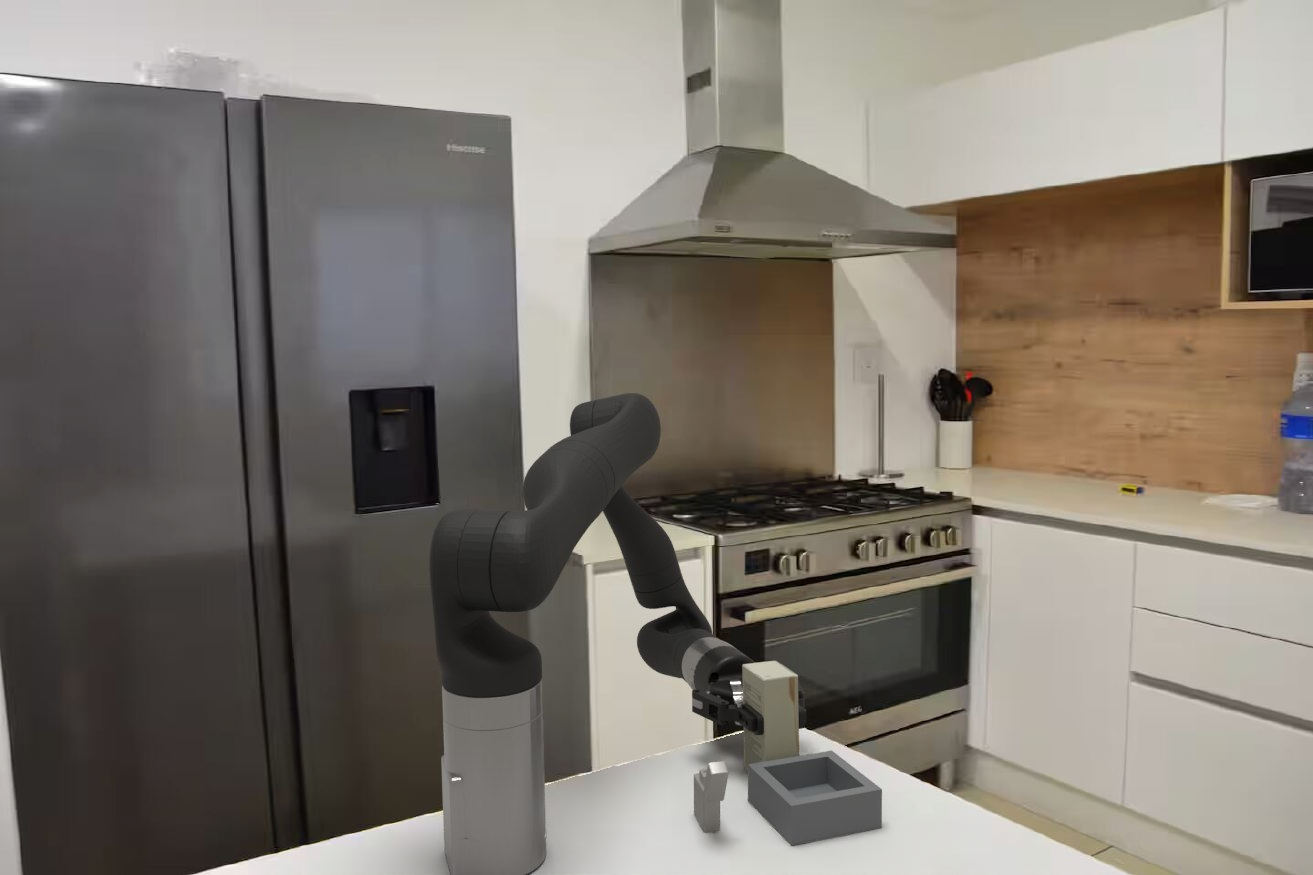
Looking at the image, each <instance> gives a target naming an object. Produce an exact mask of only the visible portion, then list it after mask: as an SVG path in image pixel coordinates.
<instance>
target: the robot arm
mask: <svg viewBox="0 0 1313 875" xmlns="http://www.w3.org/2000/svg"><path fill="white" fill-rule="evenodd" d="M661 424H662V423H661V419H660V416H659V413H658V410H657V408H656V407H655V405H654V403H653V402H652V401H651V400H650V399H649V398H648V397H646V396H645V395H643V394H640V393H634V392H628V393H621V394H617V395H613V396H608V397H604V398H599V399H598V398H597V399H593V400H590V401H586V402H581V403H579V404H576V406H575V407H574V408H573V409H572V412H571V415H570V419H569V432H570V435H569V436H567V437H564V438H563V439H561V440H560V441H559V440H558V441H557V442H556V443H554V444H553V445H552V446H550V447H549V448H548V449H547V450H545V451H544V452H543V453H542V454H541V455H540V456H539V457H538V458H537V459H536V460H535V461H534V462H533V463H532V465H530V468H528V470H527V472H526V474H525V476H524V480H523V485H522V495H523V496H522V497H523V502H524V506H525V508H526V510H525V509H524V510H507V509H505V510H504V509H503V510H502V509H501V510H499V509H467V508H465V509H454V510H450V511H448V512H446V513H445V514H444V515H443V516H442V517H441V518H440V519H439V521H438V522H437V524H436V526H435V528H434V531H433V534H432V537H431V543H430V549H429V562H428V563H429V564H428V565H429V567H428V570H429V571H428V572H429V582H430V584H429V585H430V594H431V607H432V616H433V625H434V641H435V642H434V643H435V652H436V658H437V662H438V665H439V668H440V673H441V674H440V675H441V696H442V697H441V698H442V699H441V700H442V721H443V722H442V726H443V727H442V728H443V731H442V732H443V753H444V754H443V755H441V760H440V761H441V786H442V787H441V788H442V789H441V791H442V819H443V845H444V846H443V847H444V848H443V850H444V854H445V857H446V861H447V865H448V869H449V874H450V875H527V874H529V873H532V872H533V871H534V870H537V868H538V867H540V865H542V864H543V862H544V860H545V859H546V856H547V827H546V826H547V824H546V823H547V821H546V820H547V819H546V817H547V816H546V788H545V787H546V786H545V785H546V784H545V780H546V779H545V778H546V777H545V752H544V751H545V750H544V749H545V748H544V747H545V745H544V743H545V742H544V712H543V711H544V709H543V708H544V707H543V661H542V654H541V652H540V650H539V648H538V647H537V646H536V644H534V643H533V642H531V641H530V640H528V639H527V638H524V637H522V636H519V635H517V634H515V633H513V632H512V631H511V630H510V631H509V629H506V628H505V627H504V626H502V625H501V624H500V623H499V622H497V620H496V619H495V618H494V617H493V616H492V615H491V613H490V612H500V613H501V612H502V613H521V612H527V611H528V612H529V611H531V610H534V609H536V608H538V607H539V606H540V605H541V604H543V603H544V602H545V600H546V599H547V598H548V597H549V595H550V594H551V592H552V590H553V589H554V587H555V585H556V584H557V582H558V580H559V577H560V576H561V573H562V572H563V571H564V568H565V566H566V564H567V563H568V561H569V559H570V557H571V555H572V552H574V550H575V548H576V546H577V545H578V543H579V542H580V540H581V539H582V537H583V535H584V534H586V532H587V530H588V529H589V527H591V525H592V524H593V523H594V522H595V520H596V519H597V518H599V516H600V515H601V514H602V513H603V515H604V516H605V519H606V520H607V522H608V525H609V526H610V529H611V531H612V533H613V535H614V537H615V539H616V542H617V544H618V546H619V549H620V553H621V555H622V557H623V560H624V563H625V567H626V569H627V574H628V576H629V579H630V582H631V586H632V590H633V591H634V596H635V599H636V601H637V603H638V604H639V605H640V606H641V607H643V608H645V609H649V610H657V609H664V608H669V607H670V608H671V607H675V609H674V610H673V611H671V612H668V613H666V614H664V615H662V616H659V617H657V618H654V619H653V620H650V621H648V622H647V623H645V624H644V625H643V626H642V627H641V628H640V629H639V631H638V633H637V637H636V648H637V651H638V653H639V655H640V657H641V659H642V661H644V663H645V664H646V665H647V666H648V667H649V668H651V669H652V670H653V671H655V672H657V673H658V674H661V675H664V676H668V677H673V678H678V679H682V680H683V681H685V682H686V683H687V684H688V686H689V687H690V688H691V711H692V713H694V714H696V715H698V716H701V717H703V718H705V719H707V720H709V721H710V722H713V723H715V724H717V725H720V726H728V725H730V722H734V723H735V724H734V725H736V726H737V725H738V726H742V727H743V728H744V727H745V728H746V729H747V730H748V731H751V732H753V733H754V734H756V735H763V734H764V718H763V716H762V715H761V714H760V713H759V712H758V711H756V710H755V709H754V708H753V707H752V706H751V705H746V701H745V699H744V698H743V677H742V665H743V664H750V663H756V662H755V661H754V660H753V659H751V658H750V657H749V656H747V655H746V654H745V653H744V652H742V651H740V650H739V649H737V648H736V647H735V646H733V645H732V644H730V643H729V642H727V641H724V640H721V639H720V638H719V637H717V636H716V635H714V633H713V628H712V626H711V624H710V622H709V620H708V619H707V617H706V615H705V614H704V613H703V611H702V610H701V609H700V607H699V605H698V604H697V602H696V601H695V599H694V598H693V596H692V594H691V592H690V591H689V588H688V587H687V584H686V582H685V580H684V577H683V574H682V570H681V567H680V564H679V561H678V557H677V553H676V550H675V547H674V544H673V542H672V540H671V538H670V535H668V533H667V532H666V530H665V529H664V527H663V526H661V525H660V523H659V522H658V521H657V520H655V519H654V518H653V516H652V515H650V514H649V512H647V511H646V510H645V509H644V508H643V507H642V506H641V505H640V504H639V503H638V502H636V501H635V499H634V498H633V497H632V496H631V495H630V494H629V493H628V492H627V491H626V489H625V488H624V486H623V485H624V484H625V483H626V481H628V479H629V478H630V477H631V475H632V474H634V472H636V471H637V470H639V469H640V468H641V467H642V466H643V465H644V464H646V463H647V462H648V461H650V460H651V459H652V458H653V457H654V455H655V454H656V452H657V451H658V450H657V449H658V448H659V444H660V440H661V432H662V431H661V430H662V428H661V427H662V426H661ZM805 693H806V692H805V690H804V688H803V686H802V685H801V683H800V681H799V680H798V711H799V730H803V729H805V728H806V724H807V723H808V722H807V720H808V719H807V716H808V715H807V709H806V707H805Z"/></svg>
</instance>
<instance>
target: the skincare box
mask: <svg viewBox="0 0 1313 875" xmlns="http://www.w3.org/2000/svg"><path fill="white" fill-rule="evenodd" d="M742 677H743V698H744V699H745V701H746V705H751V706H752V707H753V708H754V709H755V710H756V711H758V712H759V713H760V714H761V715H762V716H763V718H764V734H763V735H756V734H754V733H753V732H751V731H748V730H747V729H746V728H745V727H743V767H744V769H745V770H746V771H747V772H748V764H754V763H760V762H766V761H772V760H778V759H784V758H790V757H796V756H800V729H799V711H798V681H799V675H798V674H797V673H795V672H794V671H793V670H791V669H790V668H788V667H787V666H785V665H784V664H782V663H780V662H778V661H777V660H770V661H760V662H755V663H750V664H743V665H742Z"/></svg>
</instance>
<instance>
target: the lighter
mask: <svg viewBox="0 0 1313 875" xmlns="http://www.w3.org/2000/svg"><path fill="white" fill-rule="evenodd" d="M728 770H729V769H728V767H727V764H726V762H725V761H724V760H723V761H721V760H720V761H712V762H709V763H707V768H702V769H699V770H698V773H694V774H693V816H694V817H695V820H696V821H697V823H698V825H699V827H700V829H701V830H702V833H703V834H708V833H717V832H721V802H722V801H725V797H726V790H727V785H728V778H729V771H728Z"/></svg>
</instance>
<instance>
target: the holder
mask: <svg viewBox="0 0 1313 875" xmlns="http://www.w3.org/2000/svg"><path fill="white" fill-rule="evenodd" d="M747 802H748V803H749V804H750V805H751V806H752V807H753V808H754V809H755V810H756V811H757V813H759V814H760V815H761V816H762V817H763V818H764V820H766V821H767V822H768V823H769V825H771V826H772V827H773V829H775V830H776V832H777V833H779V835H781V837H782V838H783V839H784V840H785V841H786V842H787V843H788V844H789V845H790V846H791V847H792V846H797V845H802V844H807V843H808V844H809V843H812V842H813V843H814V842H818V841H823V840H827V839H833V838H837V837H842V836H848V835H854V834H857V833H858V834H859V833H863V832H867V831H871V830H872V831H873V830H877V829H882V827H883V826H882V825H883V822H882V821H883V820H882V818H883V816H882V815H883V812H882V811H883V789H882V788H881V787H880V786H878V784H876V783H874V782H873V781H872V780H871V779H869V777H867V776H865V775H864V774H863V773H861V772H860V771H859V770H858V769H857V768H855V767H854V766H853V765H851V764H850V763H848V762H847V760H844V758H842V757H841V756H839V755H838V754H837V753H836V752H835V751H834V750H828V751H822V752H821V751H820V752H816V753H810V754H809V753H808V754H804V755H803V754H801V755H799V756H796V757H790V758H784V759H778V760H772V761H766V762H760V763H754V764H748V771H747Z"/></svg>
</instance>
